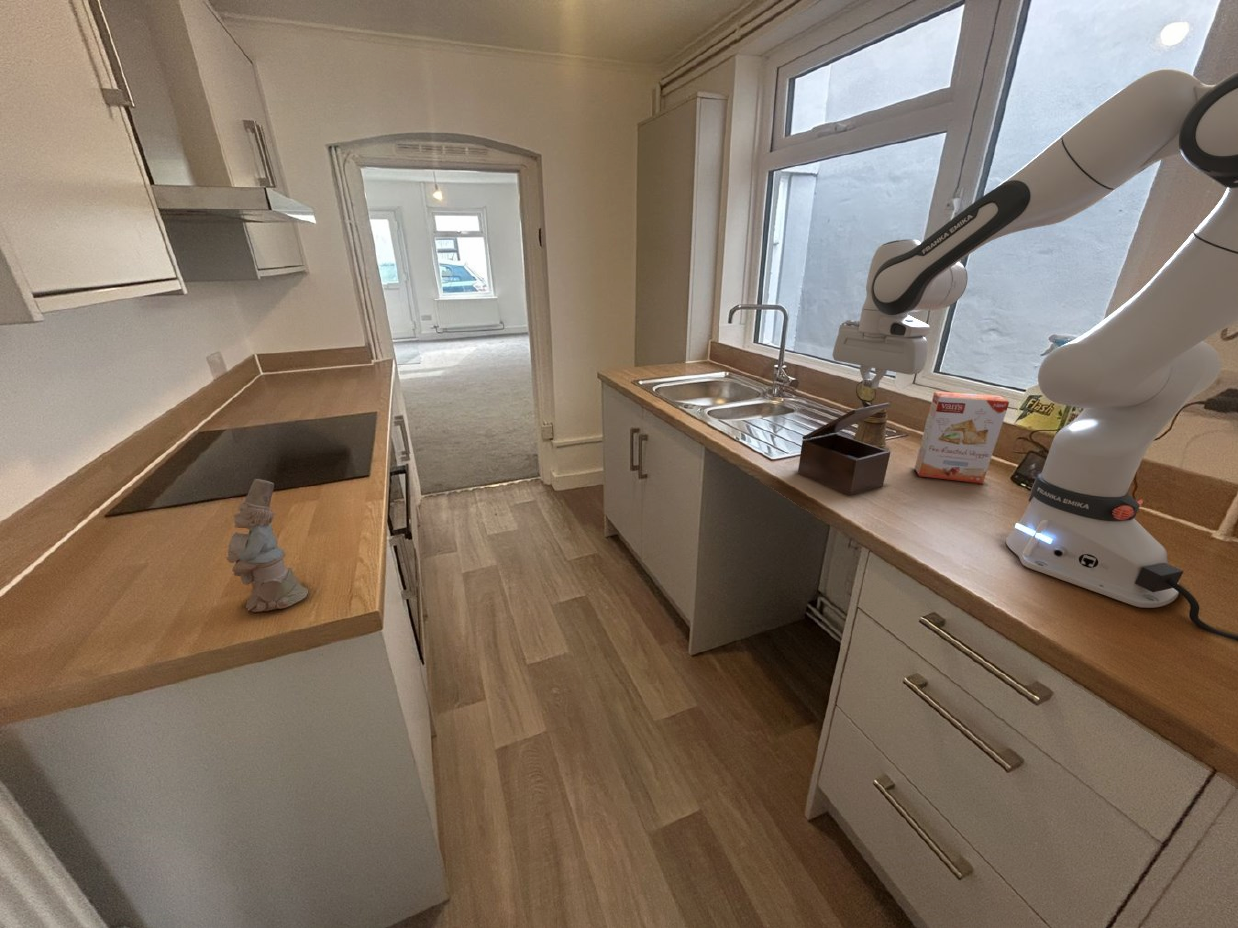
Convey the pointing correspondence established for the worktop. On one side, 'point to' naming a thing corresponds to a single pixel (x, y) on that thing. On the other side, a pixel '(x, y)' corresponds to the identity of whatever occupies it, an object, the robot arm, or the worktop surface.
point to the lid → (846, 421)
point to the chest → (843, 463)
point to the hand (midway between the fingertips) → (869, 387)
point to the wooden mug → (871, 420)
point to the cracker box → (960, 436)
